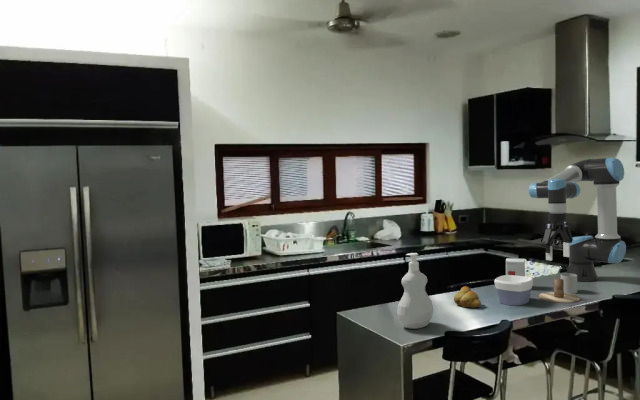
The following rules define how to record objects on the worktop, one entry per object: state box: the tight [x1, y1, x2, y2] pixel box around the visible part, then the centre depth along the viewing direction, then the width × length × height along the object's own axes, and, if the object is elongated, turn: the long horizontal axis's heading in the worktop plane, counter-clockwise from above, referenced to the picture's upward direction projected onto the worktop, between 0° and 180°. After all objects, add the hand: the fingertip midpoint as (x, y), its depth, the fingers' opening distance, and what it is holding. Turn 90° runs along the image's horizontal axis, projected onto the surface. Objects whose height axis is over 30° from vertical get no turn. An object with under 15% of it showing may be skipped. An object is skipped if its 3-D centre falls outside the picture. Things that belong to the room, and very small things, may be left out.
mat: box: [529, 290, 594, 308], centre depth 226 cm, size 18×22×1 cm
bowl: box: [493, 274, 534, 307], centre depth 225 cm, size 15×15×11 cm
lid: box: [539, 278, 581, 304], centre depth 226 cm, size 17×17×9 cm
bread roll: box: [453, 285, 482, 308], centre depth 222 cm, size 13×10×8 cm
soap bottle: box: [396, 252, 434, 330], centre depth 196 cm, size 17×12×29 cm
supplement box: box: [505, 258, 526, 277], centre depth 250 cm, size 9×9×15 cm
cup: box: [560, 272, 578, 295], centre depth 238 cm, size 7×10×9 cm
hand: (558, 258), depth 225 cm, fingers open, 13 cm apart
